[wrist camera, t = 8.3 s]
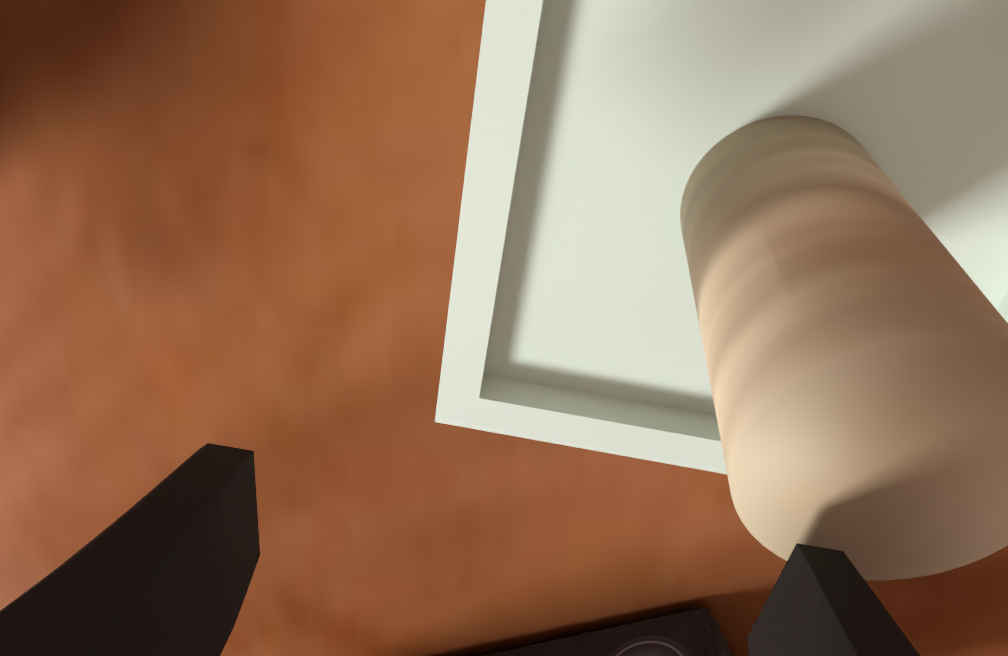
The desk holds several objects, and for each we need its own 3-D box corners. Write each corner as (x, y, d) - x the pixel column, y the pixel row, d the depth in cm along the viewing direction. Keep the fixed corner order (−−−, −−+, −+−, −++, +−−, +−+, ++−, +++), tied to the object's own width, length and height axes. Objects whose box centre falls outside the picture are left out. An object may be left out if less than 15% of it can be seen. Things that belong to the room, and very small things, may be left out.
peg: (663, 278, 17) (698, 556, 11) (703, 104, 15) (779, 318, 8) (840, 301, 17) (990, 600, 10) (907, 128, 15) (1151, 365, 8)
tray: (446, 379, 20) (434, 421, 19) (521, -202, 13) (511, -208, 12) (922, 464, 20) (948, 513, 19) (1254, -76, 13) (1339, -65, 12)
